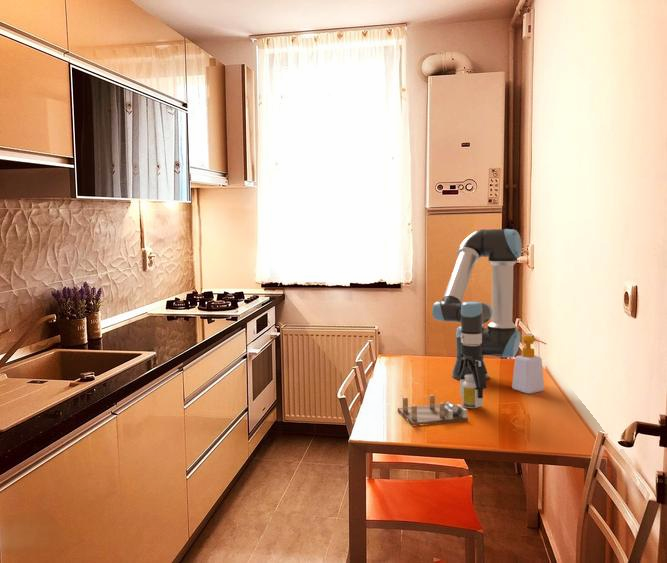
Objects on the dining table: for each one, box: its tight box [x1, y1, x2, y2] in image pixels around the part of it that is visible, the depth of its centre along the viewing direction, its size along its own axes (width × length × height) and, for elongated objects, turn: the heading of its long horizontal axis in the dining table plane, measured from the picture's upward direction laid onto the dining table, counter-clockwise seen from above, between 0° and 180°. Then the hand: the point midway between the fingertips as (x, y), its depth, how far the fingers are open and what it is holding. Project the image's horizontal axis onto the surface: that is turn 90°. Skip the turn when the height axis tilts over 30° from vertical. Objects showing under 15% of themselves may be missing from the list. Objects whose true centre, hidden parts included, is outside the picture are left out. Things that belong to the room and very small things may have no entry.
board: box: [397, 394, 469, 426], centre depth 203 cm, size 16×20×6 cm
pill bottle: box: [461, 374, 479, 409], centre depth 212 cm, size 6×6×12 cm
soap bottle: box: [511, 335, 547, 395], centre depth 228 cm, size 10×14×22 cm
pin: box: [444, 401, 460, 416], centre depth 202 cm, size 7×3×3 cm, turn 12°
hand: (471, 401), depth 213 cm, fingers open, 12 cm apart
